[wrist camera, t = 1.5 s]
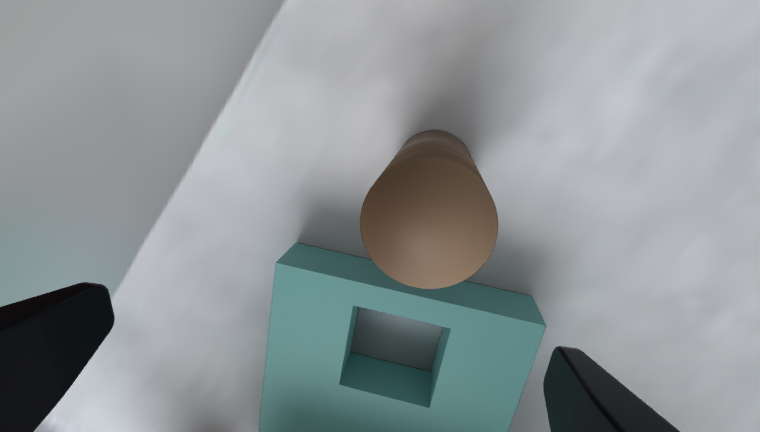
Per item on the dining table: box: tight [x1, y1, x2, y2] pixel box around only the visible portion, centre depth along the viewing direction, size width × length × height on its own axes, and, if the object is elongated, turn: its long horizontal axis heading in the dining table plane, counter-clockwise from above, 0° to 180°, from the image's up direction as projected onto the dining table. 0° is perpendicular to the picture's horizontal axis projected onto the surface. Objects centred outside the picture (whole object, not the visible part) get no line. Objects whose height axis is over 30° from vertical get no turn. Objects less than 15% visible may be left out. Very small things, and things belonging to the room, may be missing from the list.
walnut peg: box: [360, 130, 498, 289], centre depth 16 cm, size 4×4×10 cm
